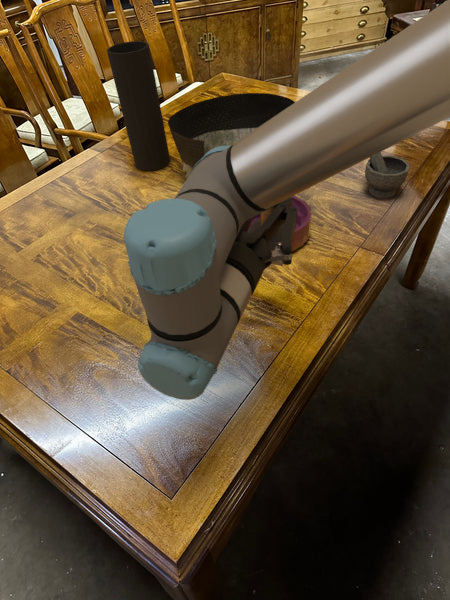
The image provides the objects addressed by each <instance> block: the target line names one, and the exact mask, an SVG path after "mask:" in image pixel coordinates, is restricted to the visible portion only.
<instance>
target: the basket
mask: <svg viewBox="0 0 450 600" xmlns="http://www.w3.org/2000/svg"><path fill="white" fill-rule="evenodd" d="M295 102H296V101H294V100H292V99H291V98H290V97H286V96H285V95H279V94H275V93H274V94H273V93H265V92H245V93H244V92H243V93H234V94H227V95H222V96H216V97H212V98H207V99H204V100H201V101H198V102H195V103H192V104H189V105H187V106H185V107H183V108H181V109H180V110H178V111H176V112H174V113H173V114H172V115H171V116H170V117H169V118H168V120H167V125H168V128H169V131H170V133H171V134H170V135H171V136H172V137H171V138H172V139H173V141H174V145H175V147H176V149H177V152H178V154H179V157H180V159H181V162H182V171H183V172H186V173H185V179H187V178H188V177H189V175H190V172H191V171H192V170H193V167H194V166H195V164H196V163H197V162H198V161H199V160H201V159H202V158H203V157H204V155H205V154H206V153H207V152H208V151H210V150H211V149H213V148H215V147H219V146H232V145H233V144H234V143H236V142H237V141H239V140H240V139H242V138H243V137H245V136H246V135H248V134H249V133H251V132H252V131H254V130H255V129H257V128H258V127H260V126H261V125H262V124H264V123H265V122H267V121H268V120H270V119H271V118H273V117H274V116H276V115H277V114H279V113H280V112H282V111H283V110H285V109H286V108H288V107H289V106H291V105H292V104H294V103H295Z"/></svg>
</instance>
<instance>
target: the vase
mask: <svg viewBox="0 0 450 600" xmlns="http://www.w3.org/2000/svg"><path fill="white" fill-rule="evenodd" d="M106 53H107V54H106V55H107V58H108V61H109V66H110V69H111V73H112V77H113V81H114V86H115V89H116V94H117V97H118V102H119V106H120V109H121V113H122V117H123V121H124V125H125V129H126V133H127V138H128V142H129V146H130V149H131V153H132V158H133V161H134V165H135V168H136V169H138V170H139V171H143V172H154V171H155V172H156V171H159V170H162V169H164V168H165V167H167V166H168V165H169V164H170V162H171V157H170V150H169V146H168V140H167V134H166V130H165V125H164V119H163V112H162V108H161V103H160V99H159V92H158V91H159V90H158V86H157V82H156V76H155V70H154V63H153V59H152V55H151V49H150V44H149V43H148V42H146V41H141V40H140V41H139V40H133V41H132V40H131V41H125V42H119V43H116V44H114V45H111V46H109V47H108V48H107V49H106Z"/></svg>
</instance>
